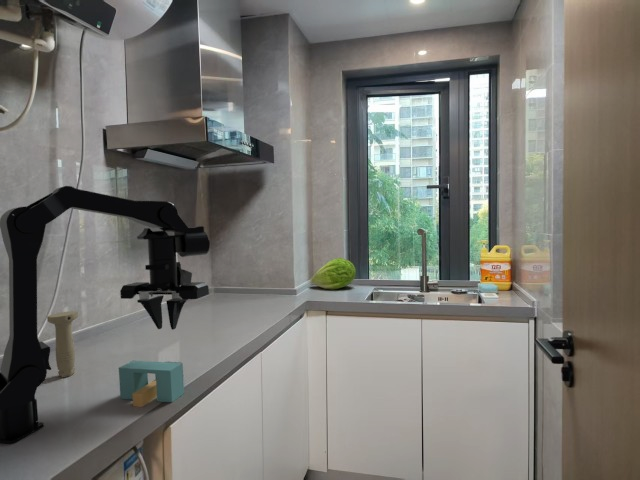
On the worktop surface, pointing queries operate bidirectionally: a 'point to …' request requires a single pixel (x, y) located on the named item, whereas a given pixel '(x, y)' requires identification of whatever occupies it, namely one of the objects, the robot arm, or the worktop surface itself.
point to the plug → (146, 393)
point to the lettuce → (335, 274)
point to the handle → (64, 341)
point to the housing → (166, 379)
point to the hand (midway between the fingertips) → (166, 328)
